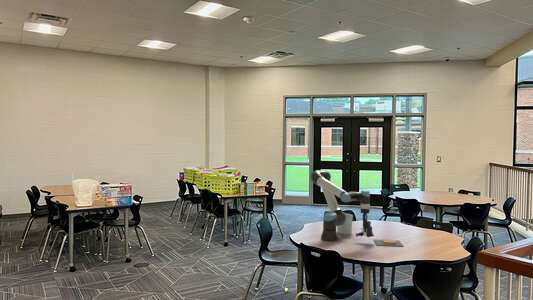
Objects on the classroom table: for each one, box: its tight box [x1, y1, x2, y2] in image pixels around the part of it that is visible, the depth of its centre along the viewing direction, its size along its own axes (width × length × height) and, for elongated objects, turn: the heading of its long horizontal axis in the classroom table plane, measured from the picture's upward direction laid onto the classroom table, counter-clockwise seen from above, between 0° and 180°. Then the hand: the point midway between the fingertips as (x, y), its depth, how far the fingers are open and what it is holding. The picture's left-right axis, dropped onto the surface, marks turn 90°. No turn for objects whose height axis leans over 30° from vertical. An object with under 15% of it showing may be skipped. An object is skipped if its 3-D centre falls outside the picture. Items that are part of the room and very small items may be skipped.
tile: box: [381, 238, 396, 244], centre depth 336 cm, size 2×10×10 cm
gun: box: [355, 220, 375, 238], centre depth 339 cm, size 3×17×15 cm
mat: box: [373, 238, 404, 248], centre depth 336 cm, size 22×18×1 cm
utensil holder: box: [336, 213, 354, 235], centre depth 374 cm, size 15×15×18 cm
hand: (364, 235), depth 339 cm, fingers closed on gun, 3 cm apart
